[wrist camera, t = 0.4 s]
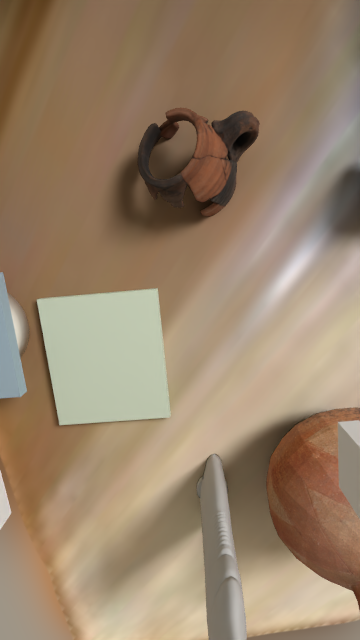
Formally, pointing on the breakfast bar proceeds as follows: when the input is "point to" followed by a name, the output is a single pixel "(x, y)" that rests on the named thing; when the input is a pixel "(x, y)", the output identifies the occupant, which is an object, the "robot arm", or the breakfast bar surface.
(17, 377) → the lid
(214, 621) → the tall pale column
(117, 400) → the mat
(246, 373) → the breakfast bar surface
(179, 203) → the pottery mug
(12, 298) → the bowl
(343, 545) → the jug
